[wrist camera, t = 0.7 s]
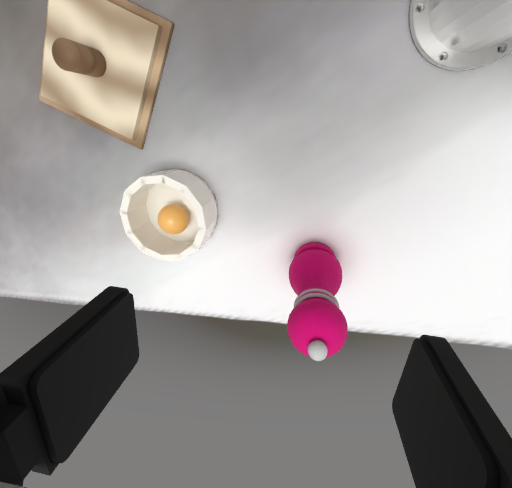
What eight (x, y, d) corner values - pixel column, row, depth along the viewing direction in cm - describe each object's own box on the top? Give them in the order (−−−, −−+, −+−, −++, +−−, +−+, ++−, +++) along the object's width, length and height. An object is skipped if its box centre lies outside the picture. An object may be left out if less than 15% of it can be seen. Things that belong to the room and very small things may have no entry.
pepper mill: (302, 287, 46) (298, 394, 28) (282, 249, 44) (263, 337, 26) (346, 272, 44) (372, 377, 26) (327, 231, 42) (341, 313, 24)
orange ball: (170, 195, 43) (156, 203, 39) (197, 208, 43) (185, 217, 39) (162, 221, 45) (148, 230, 41) (188, 233, 45) (176, 244, 41)
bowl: (155, 155, 42) (132, 159, 36) (229, 191, 42) (217, 201, 37) (136, 224, 47) (113, 237, 41) (202, 257, 47) (188, 274, 42)
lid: (58, -24, 35) (11, -51, 29) (162, 28, 35) (135, 10, 30) (46, 95, 41) (5, 91, 35) (135, 139, 41) (109, 141, 35)
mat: (55, -35, 35) (51, -38, 35) (174, 24, 35) (172, 22, 35) (42, 100, 42) (39, 99, 41) (142, 149, 42) (140, 149, 41)
